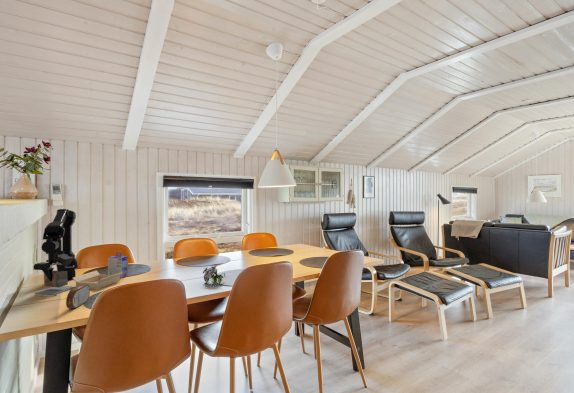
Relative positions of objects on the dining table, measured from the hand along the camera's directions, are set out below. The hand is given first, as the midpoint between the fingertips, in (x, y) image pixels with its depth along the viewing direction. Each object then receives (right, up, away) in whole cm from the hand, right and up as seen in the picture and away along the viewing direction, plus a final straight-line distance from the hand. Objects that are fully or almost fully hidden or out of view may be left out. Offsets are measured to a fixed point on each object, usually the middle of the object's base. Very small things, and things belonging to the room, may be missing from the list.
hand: (55, 279), depth 165 cm
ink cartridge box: (+18, -6, +27) cm, 33 cm away
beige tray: (+16, -6, +11) cm, 20 cm away
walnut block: (0, -3, 0) cm, 3 cm away
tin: (+25, -6, -21) cm, 33 cm away
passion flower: (+78, -5, +12) cm, 79 cm away
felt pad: (0, -6, 0) cm, 6 cm away
